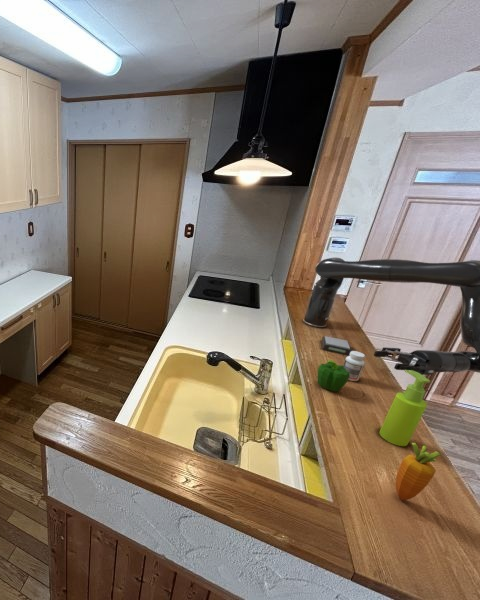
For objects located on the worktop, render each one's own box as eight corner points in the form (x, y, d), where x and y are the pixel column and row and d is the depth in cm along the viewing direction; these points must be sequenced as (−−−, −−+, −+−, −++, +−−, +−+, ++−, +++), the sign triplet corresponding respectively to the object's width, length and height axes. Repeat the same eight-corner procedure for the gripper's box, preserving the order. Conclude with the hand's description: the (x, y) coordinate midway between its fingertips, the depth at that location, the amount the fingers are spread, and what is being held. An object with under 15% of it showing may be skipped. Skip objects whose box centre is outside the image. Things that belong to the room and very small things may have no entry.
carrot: (380, 489, 74) (405, 439, 69) (399, 488, 75) (426, 438, 69) (402, 510, 70) (430, 458, 64) (422, 509, 70) (453, 457, 65)
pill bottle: (344, 371, 120) (353, 348, 116) (361, 379, 115) (371, 355, 112) (336, 375, 118) (345, 351, 114) (353, 383, 113) (362, 359, 110)
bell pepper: (344, 386, 111) (354, 361, 107) (342, 397, 105) (351, 371, 102) (315, 376, 116) (323, 352, 113) (311, 386, 111) (320, 361, 107)
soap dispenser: (393, 428, 93) (420, 369, 86) (413, 447, 86) (445, 384, 79) (371, 426, 93) (396, 367, 86) (390, 445, 87) (419, 383, 80)
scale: (321, 341, 143) (323, 335, 141) (346, 346, 138) (348, 340, 137) (322, 349, 135) (324, 343, 134) (349, 355, 131) (352, 349, 130)
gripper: (416, 342, 119) (372, 340, 119) (458, 362, 105) (407, 361, 106) (408, 359, 121) (365, 358, 122) (448, 382, 108) (399, 380, 108)
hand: (385, 359), depth 114 cm, fingers open, 8 cm apart
